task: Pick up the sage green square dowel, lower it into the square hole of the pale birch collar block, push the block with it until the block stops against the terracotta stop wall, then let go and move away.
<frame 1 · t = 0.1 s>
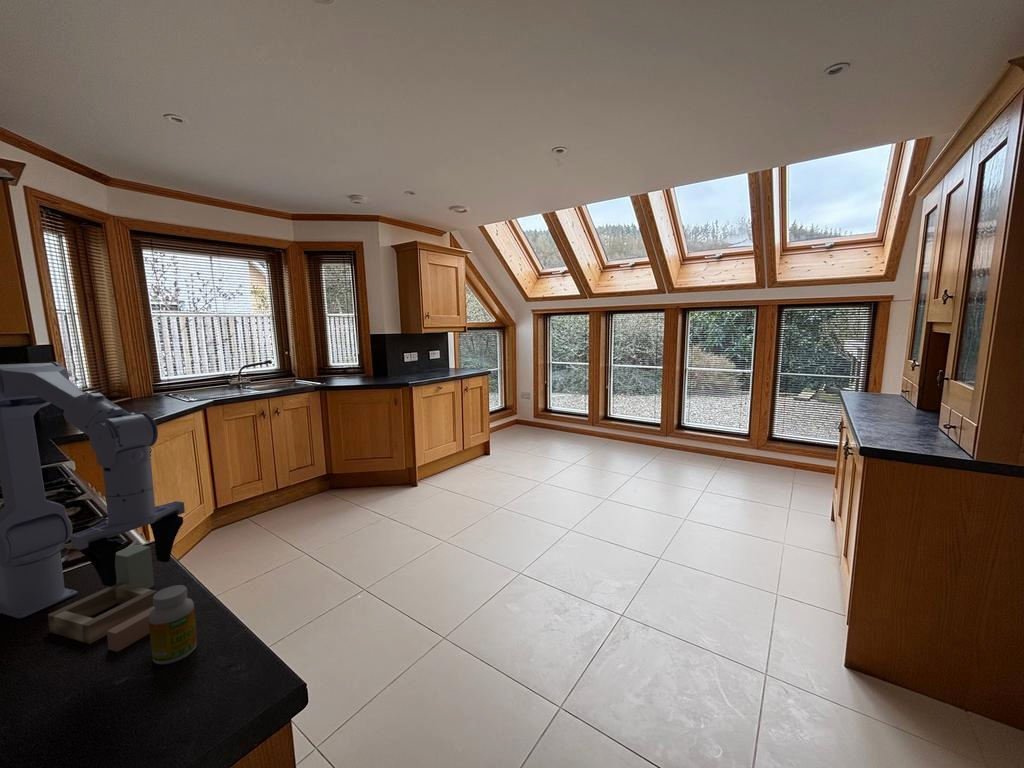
hand: (137, 572, 70), 10 cm above the countertop, tool pointing down, fingers open, 7 cm apart
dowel: (135, 590, 83), on the countertop
collar block: (105, 610, 74), point 1 cm above the countertop, slide at 4.0 cm
supplement bottle: (175, 653, 66), on the countertop
stop wall: (148, 630, 71), on the countertop
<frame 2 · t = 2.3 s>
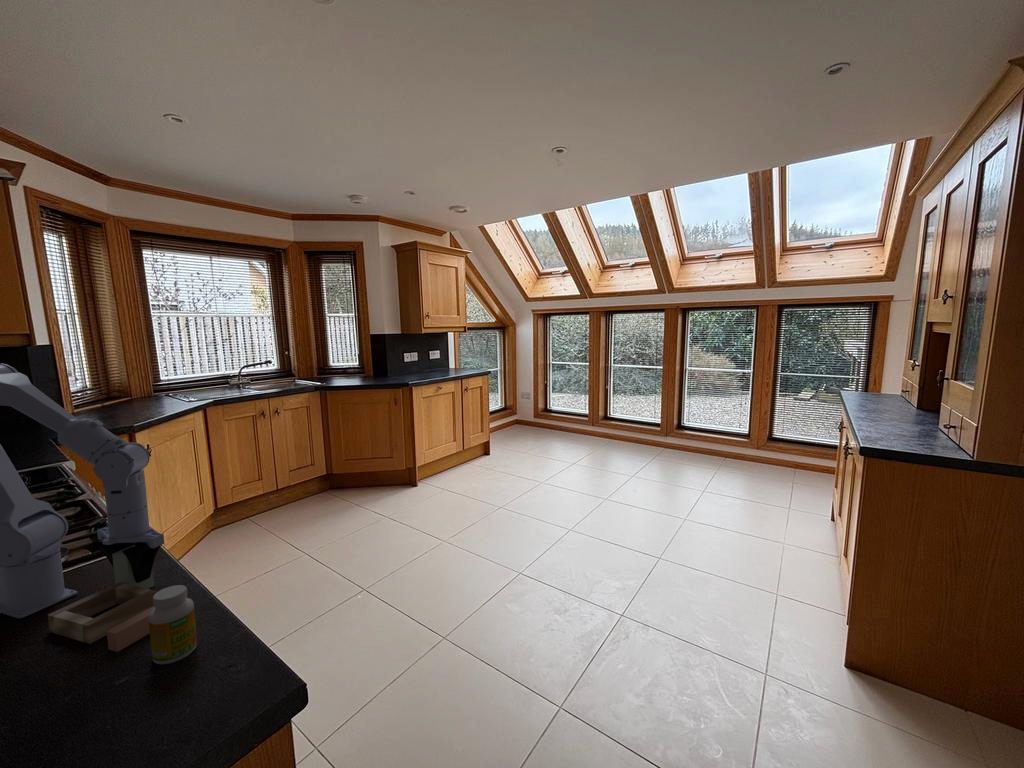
hand: (134, 578, 82), 2 cm above the countertop, tool pointing down, fingers closed on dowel, 4 cm apart
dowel: (135, 590, 83), on the countertop, touching gripper
everything else where it was.
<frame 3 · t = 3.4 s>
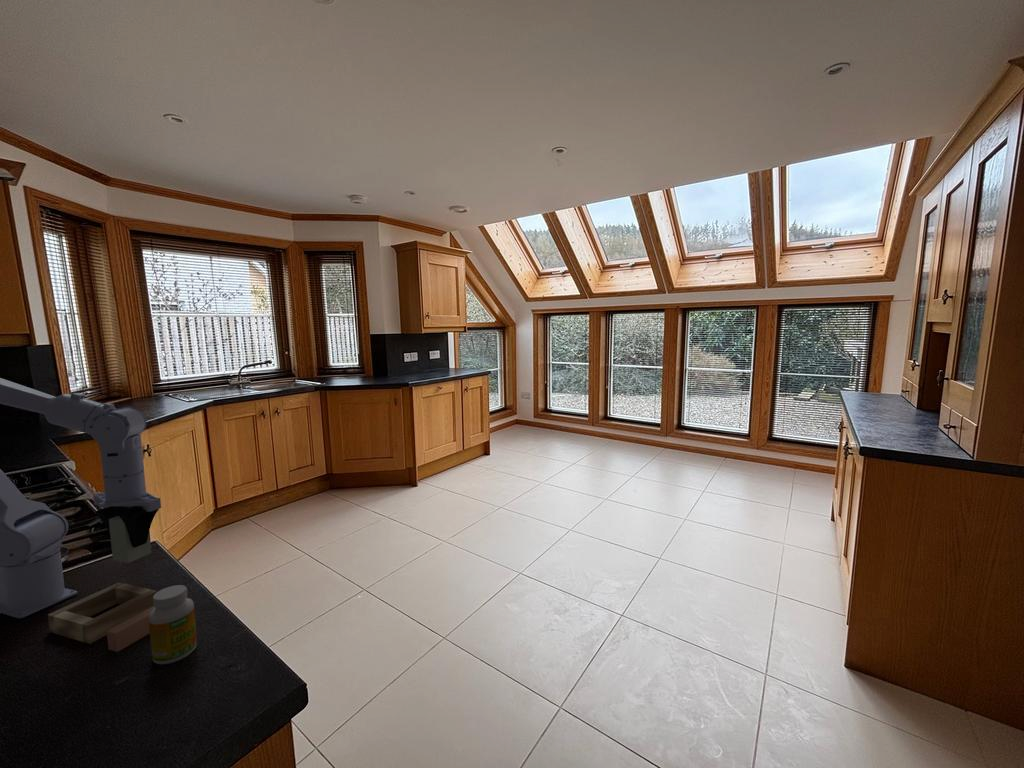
hand: (130, 543, 82), 9 cm above the countertop, tool pointing down, fingers closed on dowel, 4 cm apart
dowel: (132, 556, 82), point 7 cm above the countertop, touching gripper
everything else where it was.
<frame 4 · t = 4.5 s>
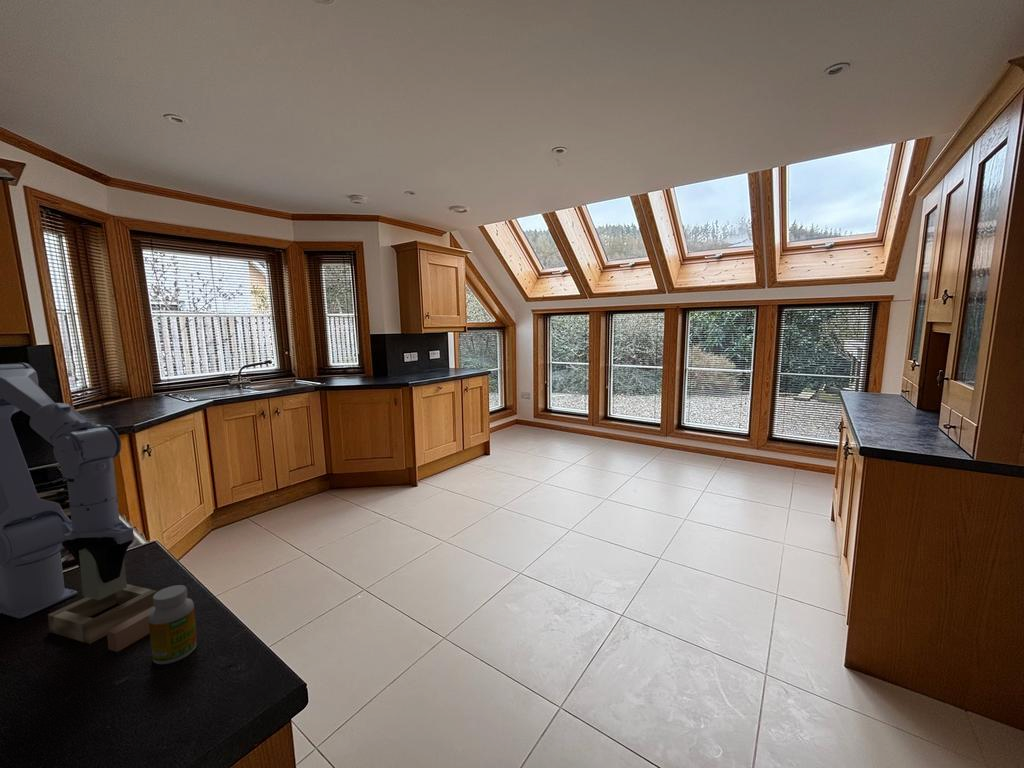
hand: (102, 577, 73), 7 cm above the countertop, tool pointing down, fingers closed on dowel, 4 cm apart
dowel: (105, 591, 74), point 5 cm above the countertop, touching gripper
everything else where it was.
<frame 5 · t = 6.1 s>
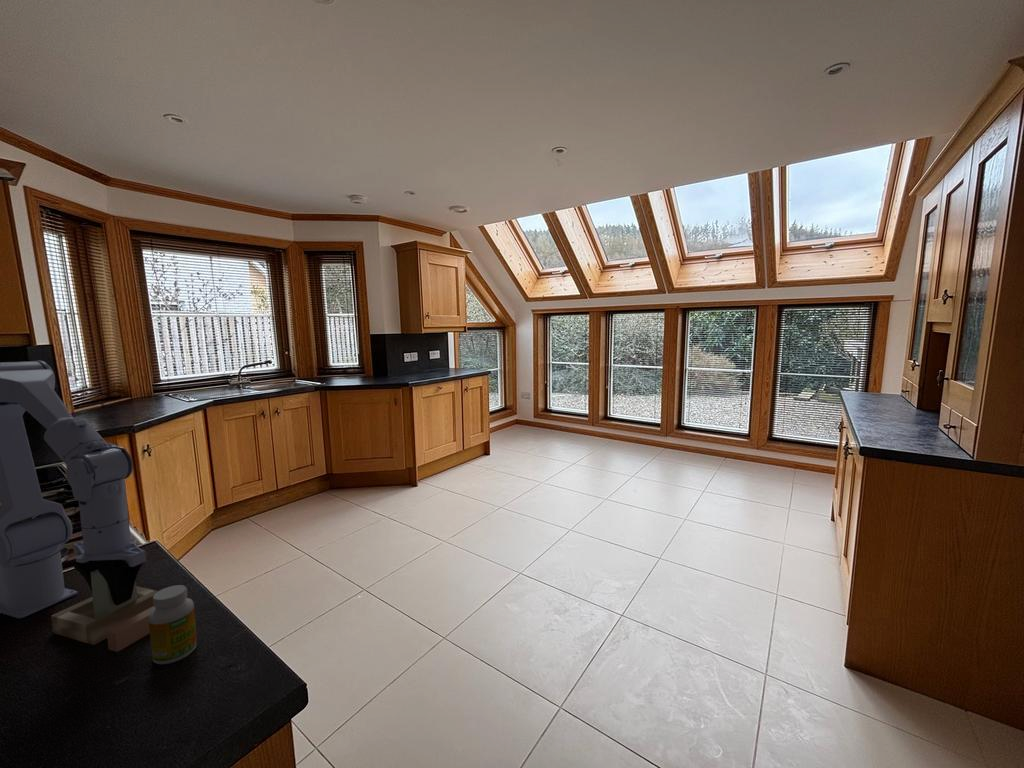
hand: (113, 599, 73), 4 cm above the countertop, tool pointing down, fingers closed on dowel, 4 cm apart
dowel: (116, 613, 73), point 1 cm above the countertop, touching collar block, gripper
collar block: (109, 611, 74), point 2 cm above the countertop, slide at 3.1 cm, touching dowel
everything else where it was.
when the fingers open (4 cm above the countertop, at t = 8.0 s): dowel stays where it is, resting on collar block.
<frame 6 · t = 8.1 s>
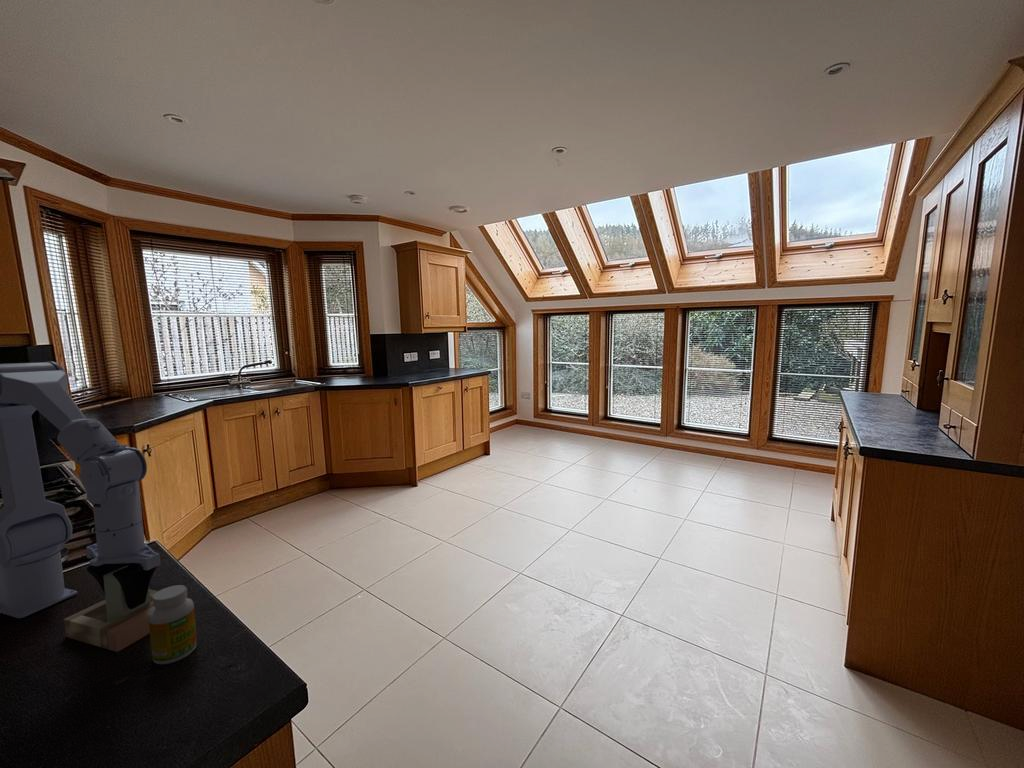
hand: (127, 603, 72), 4 cm above the countertop, tool pointing down, fingers open, 4 cm apart
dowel: (129, 617, 72), point 1 cm above the countertop, touching collar block, gripper
collar block: (122, 614, 73), point 1 cm above the countertop, slide at -0.1 cm, touching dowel
everything else where it was.
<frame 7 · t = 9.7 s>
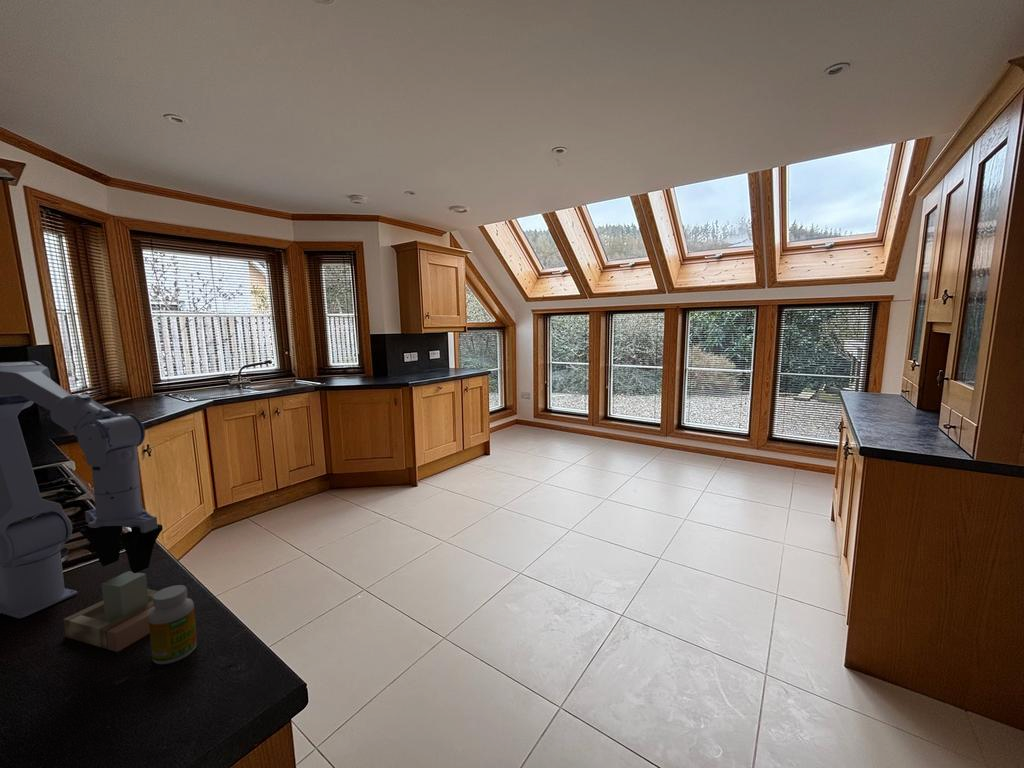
hand: (125, 566, 73), 9 cm above the countertop, tool pointing down, fingers open, 7 cm apart
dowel: (128, 623, 73), resting in collar block
collar block: (121, 614, 73), point 1 cm above the countertop, slide at 0.0 cm
everything else where it was.
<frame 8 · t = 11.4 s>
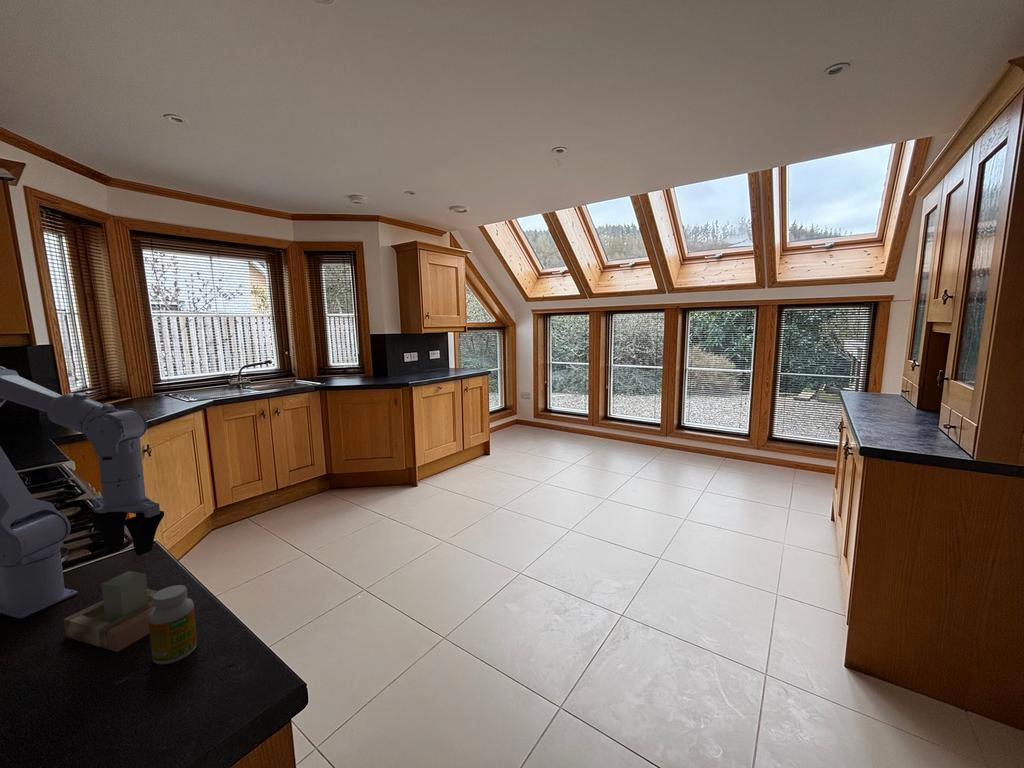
hand: (129, 550, 79), 9 cm above the countertop, tool pointing down, fingers open, 7 cm apart
nothing on the countertop moved.
at the end: collar block slide at 0.0 cm; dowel 1.2 cm off-centre on the collar block, point 0.0 cm above the collar block's base; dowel tilted 0° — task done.
